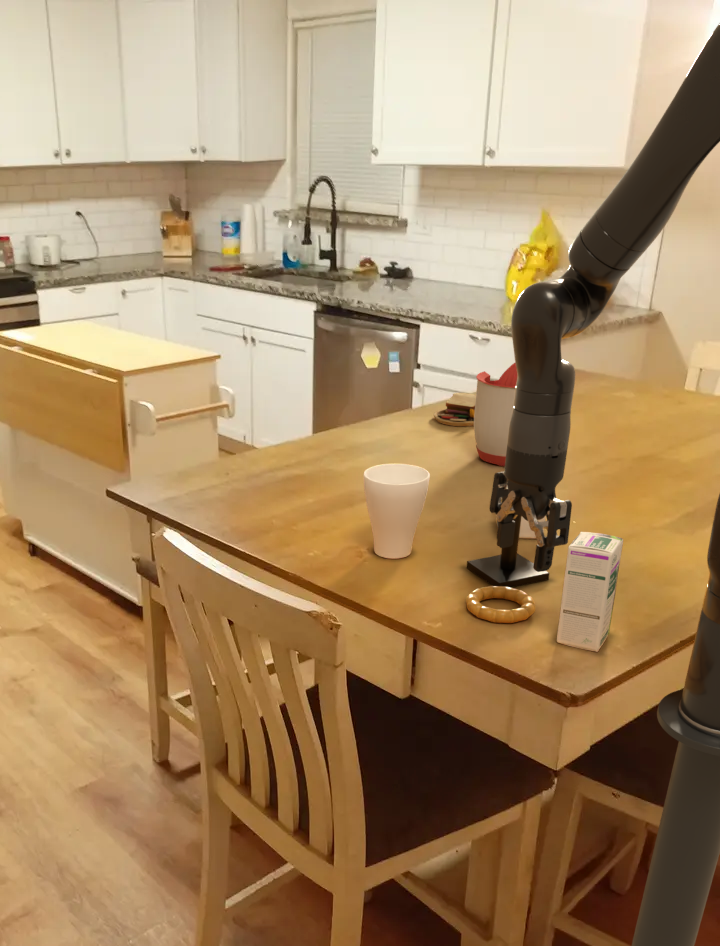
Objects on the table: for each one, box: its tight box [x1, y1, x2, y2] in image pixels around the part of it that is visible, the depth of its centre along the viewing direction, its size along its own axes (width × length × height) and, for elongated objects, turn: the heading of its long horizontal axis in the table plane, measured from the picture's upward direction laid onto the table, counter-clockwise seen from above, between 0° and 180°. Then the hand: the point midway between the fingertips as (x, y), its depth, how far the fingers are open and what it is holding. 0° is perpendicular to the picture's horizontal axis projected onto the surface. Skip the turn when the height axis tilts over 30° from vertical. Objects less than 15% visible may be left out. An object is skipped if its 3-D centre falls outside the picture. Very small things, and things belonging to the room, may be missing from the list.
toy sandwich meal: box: [433, 392, 476, 427], centre depth 223 cm, size 12×14×5 cm
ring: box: [465, 585, 536, 624], centre depth 137 cm, size 10×10×2 cm
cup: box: [363, 462, 431, 560], centre depth 154 cm, size 10×10×14 cm
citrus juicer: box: [473, 362, 518, 467], centre depth 194 cm, size 16×17×20 cm
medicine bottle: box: [495, 497, 547, 540], centre depth 161 cm, size 7×7×12 cm
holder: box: [465, 516, 550, 588], centre depth 146 cm, size 9×9×11 cm
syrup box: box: [556, 530, 624, 653], centre depth 126 cm, size 6×6×14 cm
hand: (522, 558), depth 130 cm, fingers open, 8 cm apart
